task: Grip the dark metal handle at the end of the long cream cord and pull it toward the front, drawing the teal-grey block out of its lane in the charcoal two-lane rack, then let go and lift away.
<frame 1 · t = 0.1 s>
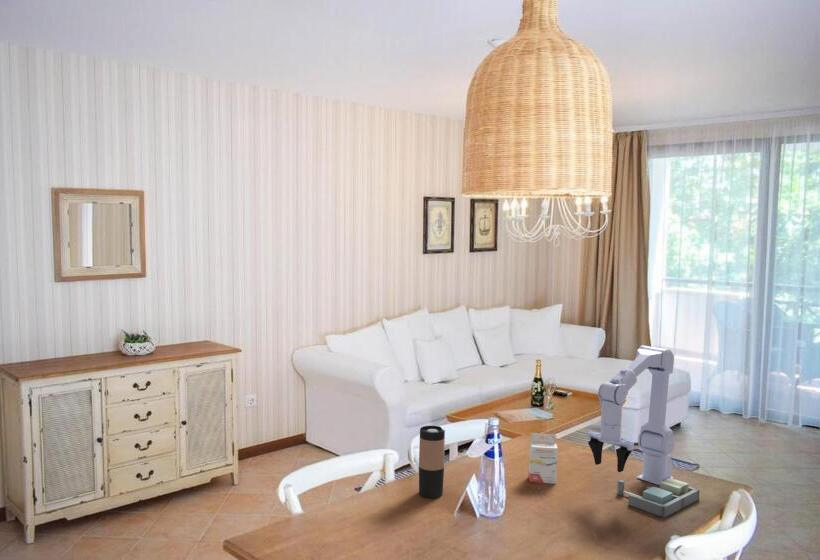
hand: (609, 467, 199), 10 cm above the table, tool pointing down, fingers open, 7 cm apart
ink cartridge box: (542, 481, 214), on the table
teal block with cord: (657, 506, 195), on the table
travel mug: (430, 494, 201), on the table
lane rack: (665, 502, 198), on the table
sage block: (673, 499, 201), resting in lane rack
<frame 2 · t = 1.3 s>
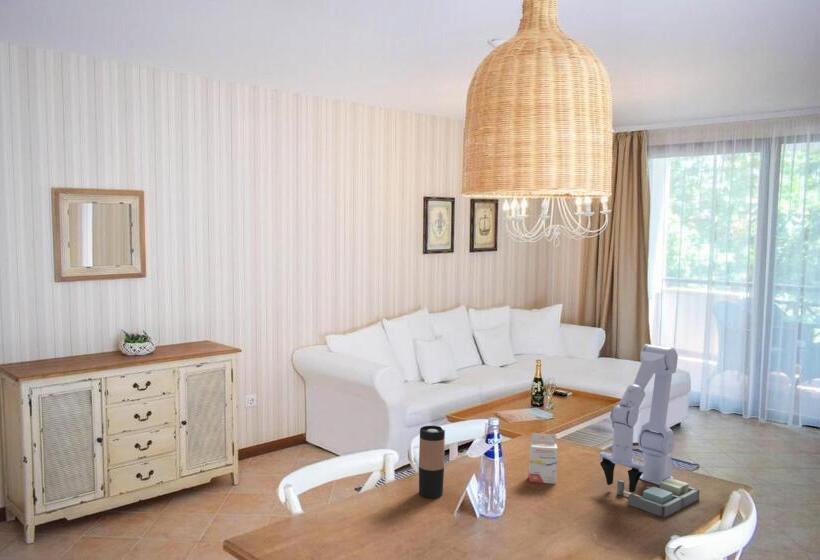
hand: (620, 487, 204), 2 cm above the table, tool pointing down, fingers open, 7 cm apart
nothing on the table moved.
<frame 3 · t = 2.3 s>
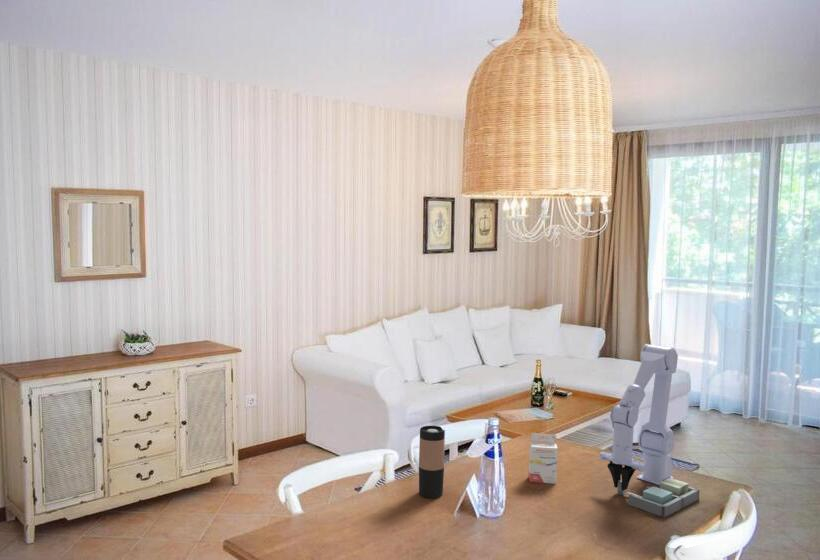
hand: (620, 487, 204), 2 cm above the table, tool pointing down, fingers closed on teal block with cord, 2 cm apart
teal block with cord: (657, 506, 195), on the table, touching gripper
everything else where it was.
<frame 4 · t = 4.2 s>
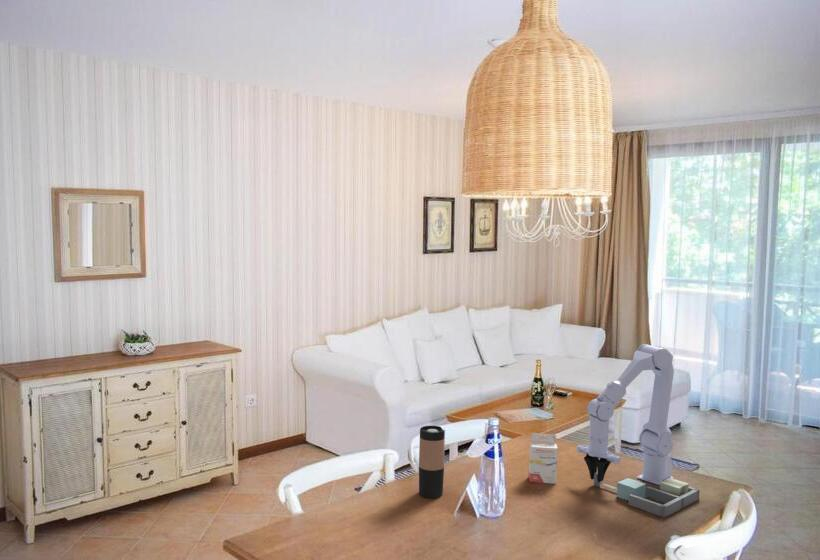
hand: (596, 479, 210), 2 cm above the table, tool pointing down, fingers closed on teal block with cord, 2 cm apart
teal block with cord: (631, 497, 201), on the table, touching gripper
everything else where it was.
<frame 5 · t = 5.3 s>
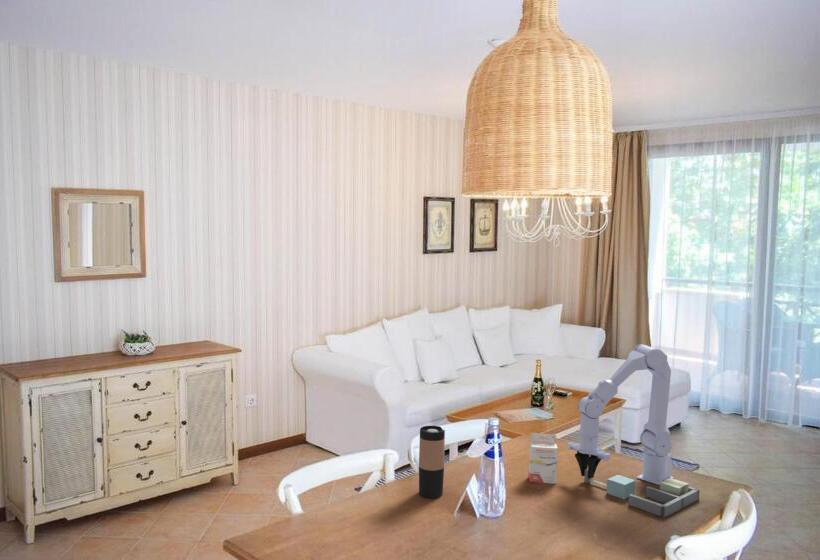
hand: (587, 476, 213), 2 cm above the table, tool pointing down, fingers closed on teal block with cord, 2 cm apart
teal block with cord: (620, 493, 204), on the table, touching gripper
everything else where it was.
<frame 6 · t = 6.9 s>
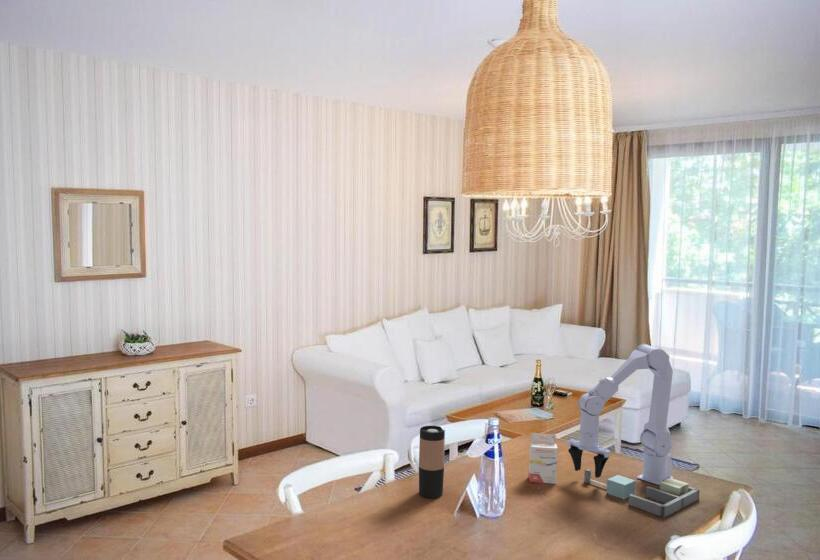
hand: (587, 473, 213), 3 cm above the table, tool pointing down, fingers open, 7 cm apart
teal block with cord: (620, 494, 204), on the table
everything else where it was.
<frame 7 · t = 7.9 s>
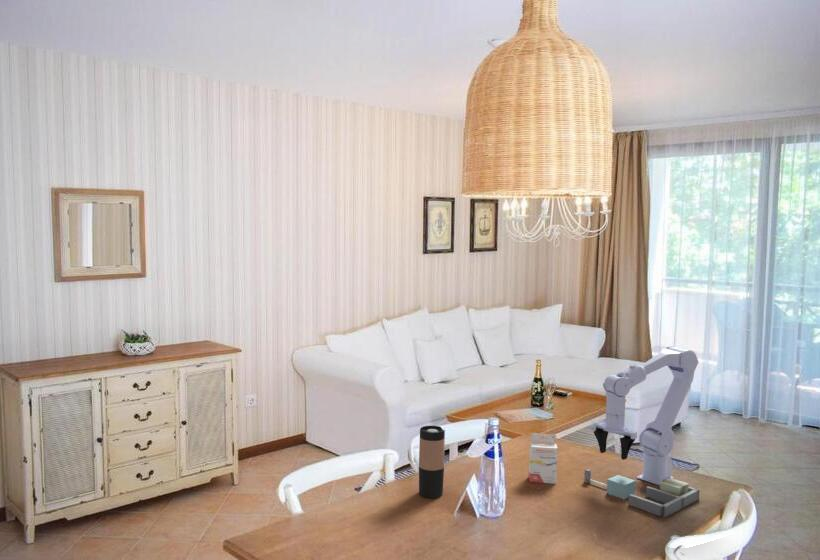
hand: (613, 455, 211), 9 cm above the table, tool pointing down, fingers open, 7 cm apart
nothing on the table moved.
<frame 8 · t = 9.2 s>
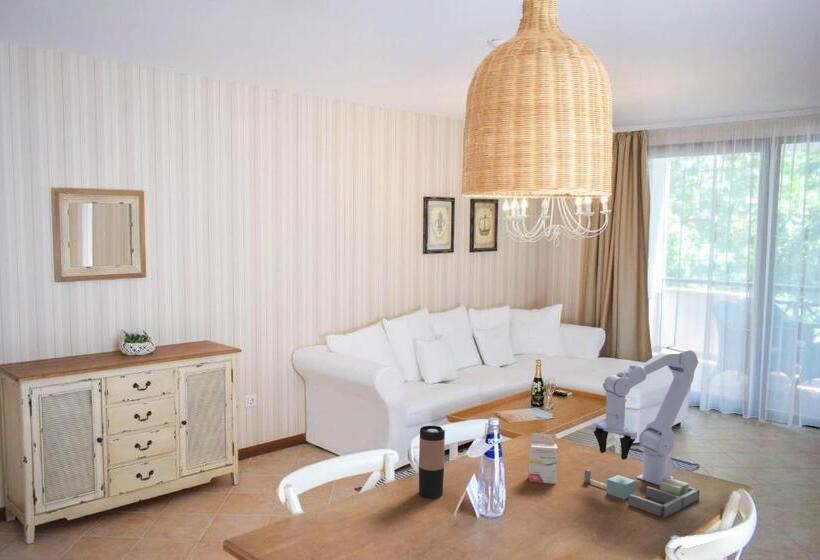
hand: (613, 455, 211), 9 cm above the table, tool pointing down, fingers open, 7 cm apart
nothing on the table moved.
at the end: teal block with cord inside the target area (0.3 cm from its centre), on the table; teal block with cord tilted 0°; the gripper is holding nothing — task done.
